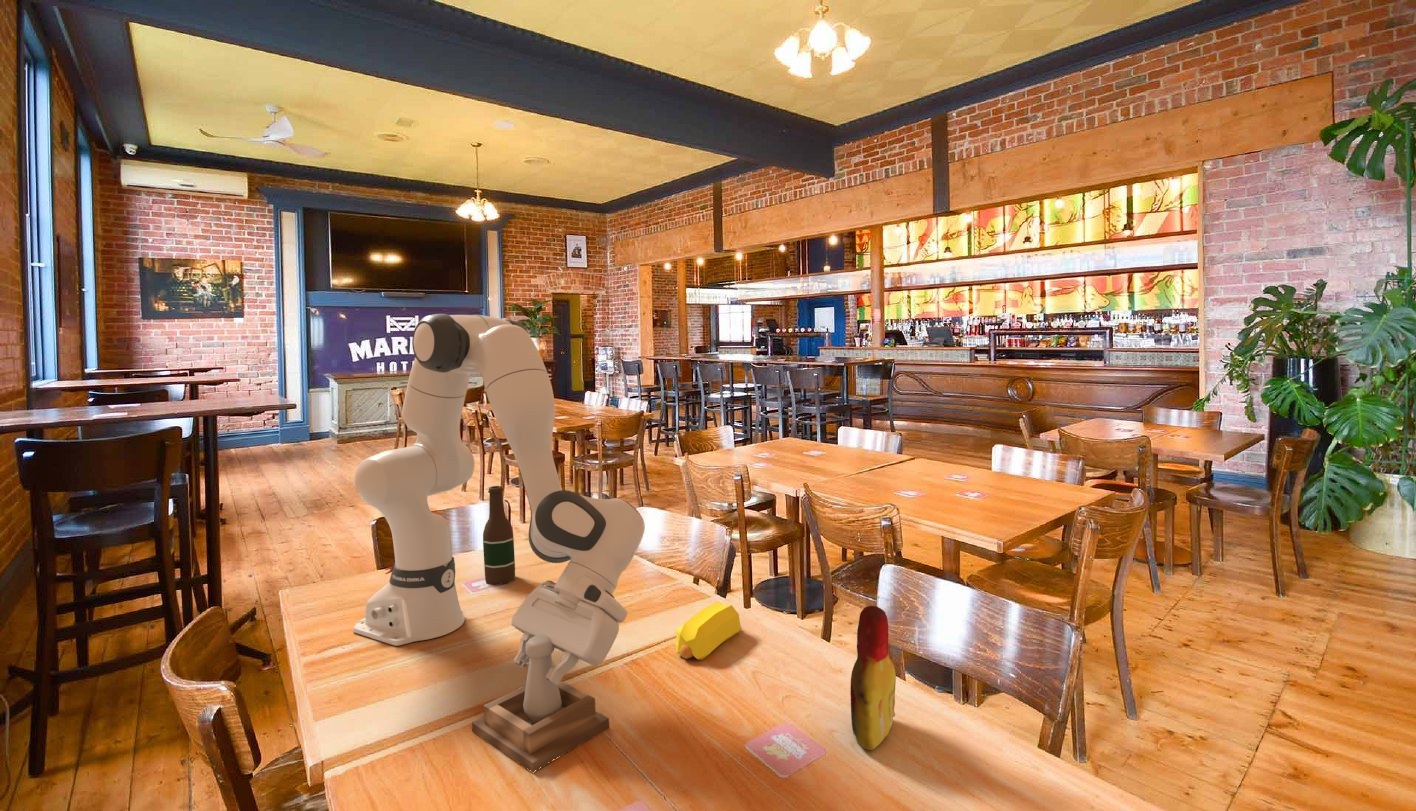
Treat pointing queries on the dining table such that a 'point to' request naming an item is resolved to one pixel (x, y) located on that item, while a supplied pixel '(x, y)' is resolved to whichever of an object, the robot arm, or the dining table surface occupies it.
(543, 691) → the salt shaker
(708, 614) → the yellow faceted rounded part
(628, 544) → the robot arm
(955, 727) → the dining table surface
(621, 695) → the dining table surface
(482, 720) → the board
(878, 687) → the bottle
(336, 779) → the dining table surface
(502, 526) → the beer bottle
